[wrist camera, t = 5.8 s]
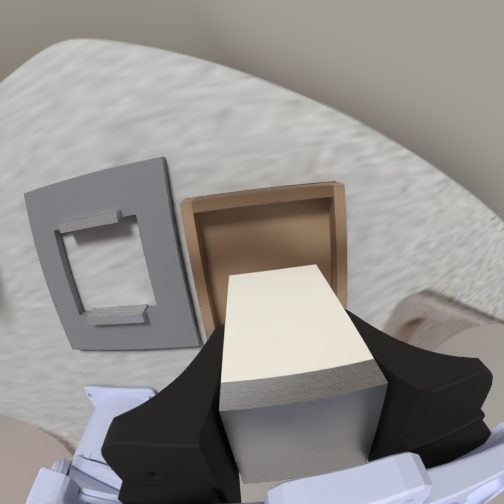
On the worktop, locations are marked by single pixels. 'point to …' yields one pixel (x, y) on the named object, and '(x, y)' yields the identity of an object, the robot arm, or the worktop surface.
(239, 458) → the block
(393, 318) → the worktop surface
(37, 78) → the worktop surface
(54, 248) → the frame
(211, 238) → the tray
